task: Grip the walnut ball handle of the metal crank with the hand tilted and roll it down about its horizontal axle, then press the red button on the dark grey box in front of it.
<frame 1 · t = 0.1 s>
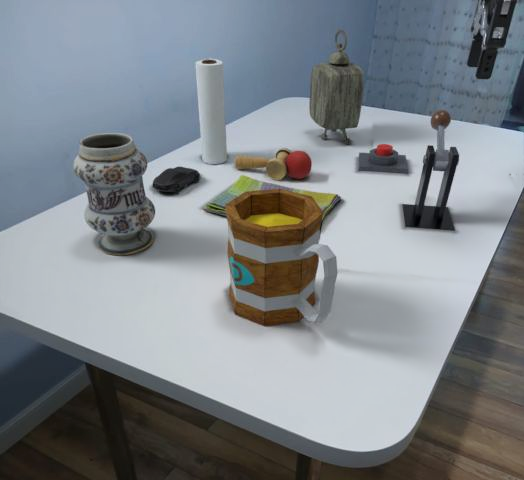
hand: (477, 72, 78), 26 cm above the table, tool pointing down, fingers open, 8 cm apart
apothecary jar: (126, 242, 90), on the table
toy car: (177, 186, 109), on the table
kendama: (272, 175, 115), on the table
crank: (440, 139, 91), point 14 cm above the table, hinge at 25.0°
button: (384, 150, 114), point 4 cm above the table, slide at 0.1 cm
mug: (283, 310, 75), on the table
tabletop clock: (330, 139, 133), on the table
crank bracket: (426, 222, 97), on the table
button box: (381, 169, 117), on the table
paper towel roll: (216, 160, 122), on the table
dish towel: (274, 209, 101), on the table
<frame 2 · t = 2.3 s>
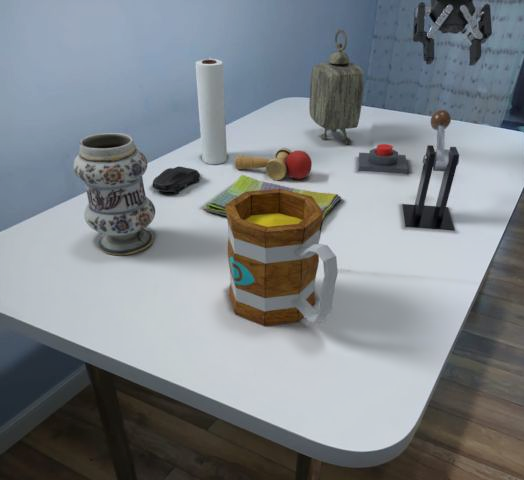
hand: (452, 62, 93), 24 cm above the table, tool tilted 40°, fingers open, 8 cm apart
nothing on the table moved.
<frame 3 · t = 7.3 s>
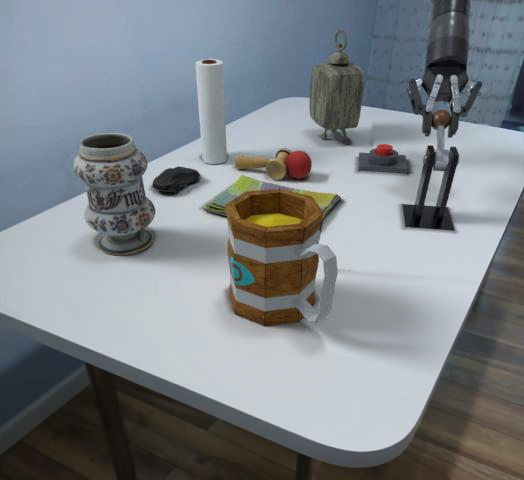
hand: (439, 134, 92), 14 cm above the table, tool tilted 45°, fingers closed on crank, 3 cm apart
crank: (440, 139, 91), point 14 cm above the table, hinge at 25.0°, touching gripper
everything else where it was.
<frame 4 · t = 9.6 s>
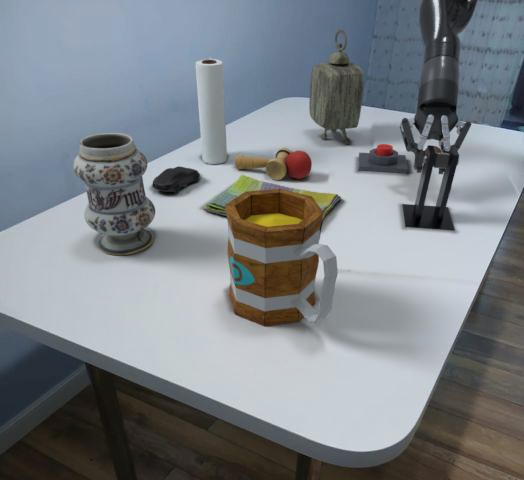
hand: (430, 171, 97), 7 cm above the table, tool tilted 45°, fingers closed on crank, 3 cm apart
crank: (436, 157, 93), point 11 cm above the table, hinge at -14.7°, touching gripper
everything else where it was.
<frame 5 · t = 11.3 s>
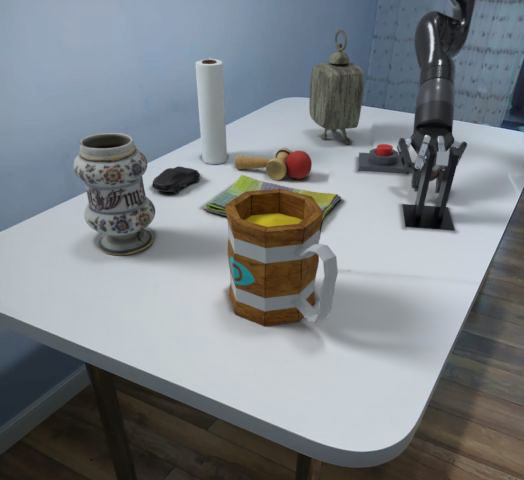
hand: (427, 190, 98), 4 cm above the table, tool tilted 45°, fingers closed on crank, 3 cm apart
crank: (434, 166, 94), point 9 cm above the table, hinge at -32.4°, touching gripper
everything else where it was.
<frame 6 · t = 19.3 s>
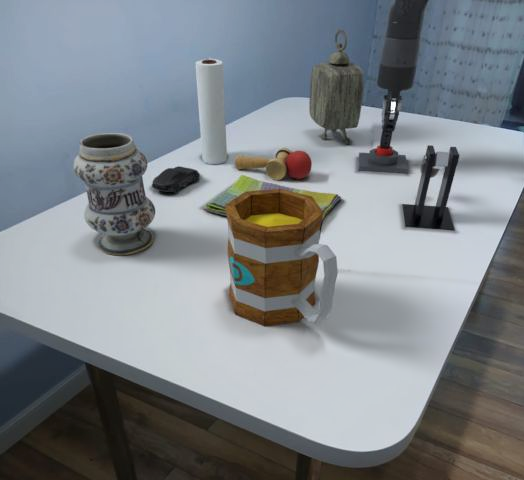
hand: (384, 147, 114), 5 cm above the table, tool pointing down, fingers closed
crank: (434, 164, 94), point 10 cm above the table, hinge at -28.5°
button: (384, 151, 114), point 4 cm above the table, slide at -0.1 cm, touching gripper
everything else where it was.
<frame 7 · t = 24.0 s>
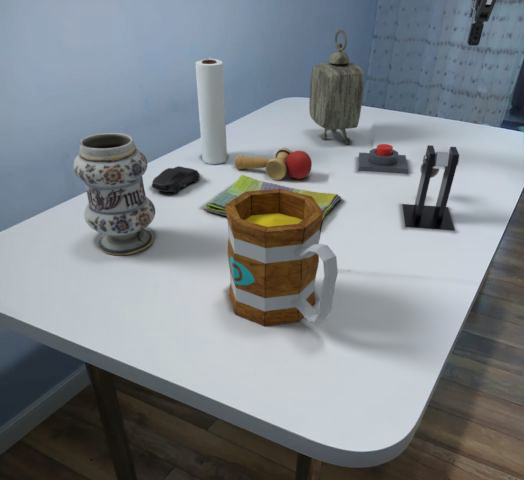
hand: (472, 44, 103), 25 cm above the table, tool pointing down, fingers closed
button: (384, 150, 114), point 4 cm above the table, slide at 0.1 cm
everything else where it was.
at the end: crank at -28° (first picture: +25°); button pushed in 1.1 cm at the most during the clip, back to where it started at the end; button slide at 0.1 cm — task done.
